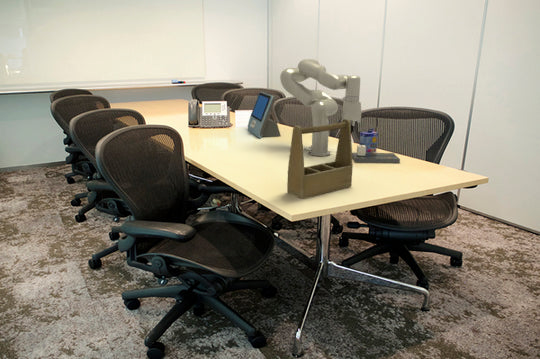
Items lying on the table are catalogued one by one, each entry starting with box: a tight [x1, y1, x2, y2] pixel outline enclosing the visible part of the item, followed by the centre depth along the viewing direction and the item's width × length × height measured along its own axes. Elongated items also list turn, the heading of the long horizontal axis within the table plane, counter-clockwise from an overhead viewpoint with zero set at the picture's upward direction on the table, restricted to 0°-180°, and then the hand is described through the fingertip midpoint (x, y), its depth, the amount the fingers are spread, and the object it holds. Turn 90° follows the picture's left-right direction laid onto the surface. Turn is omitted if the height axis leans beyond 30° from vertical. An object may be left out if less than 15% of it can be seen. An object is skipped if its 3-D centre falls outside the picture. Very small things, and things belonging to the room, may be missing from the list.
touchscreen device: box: [247, 91, 282, 139], centre depth 303 cm, size 35×20×30 cm, turn 16°
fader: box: [356, 144, 366, 156], centre depth 232 cm, size 4×4×5 cm
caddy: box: [286, 119, 354, 200], centre depth 178 cm, size 29×11×30 cm, turn 126°
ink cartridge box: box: [358, 128, 379, 153], centre depth 251 cm, size 10×6×14 cm, turn 117°
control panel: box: [352, 152, 401, 164], centre depth 233 cm, size 24×14×3 cm, turn 89°
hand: (350, 132), depth 229 cm, fingers closed
